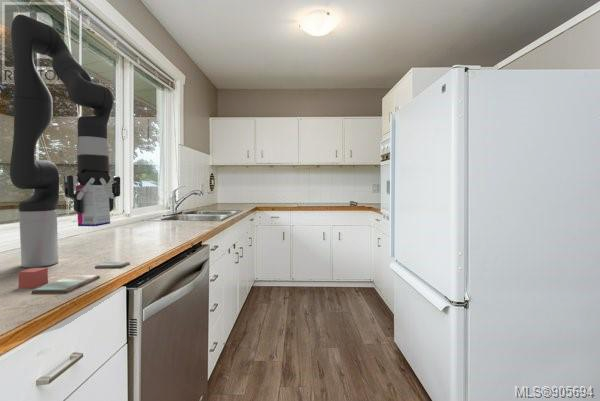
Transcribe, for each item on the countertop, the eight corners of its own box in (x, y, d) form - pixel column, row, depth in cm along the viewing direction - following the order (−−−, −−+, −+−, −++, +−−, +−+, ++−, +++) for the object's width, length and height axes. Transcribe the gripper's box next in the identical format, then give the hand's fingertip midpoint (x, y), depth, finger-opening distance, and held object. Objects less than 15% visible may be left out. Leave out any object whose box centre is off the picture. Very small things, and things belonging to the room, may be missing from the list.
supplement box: (111, 223, 94) (109, 184, 93) (95, 226, 88) (92, 185, 87) (94, 223, 95) (91, 184, 94) (77, 226, 89) (74, 185, 88)
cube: (34, 272, 78) (18, 272, 78) (35, 288, 78) (18, 288, 78) (47, 267, 82) (32, 267, 82) (48, 283, 82) (32, 283, 82)
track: (66, 293, 74) (66, 289, 74) (31, 293, 74) (31, 290, 74) (129, 263, 102) (129, 261, 102) (104, 264, 102) (104, 261, 102)
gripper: (112, 156, 98) (113, 210, 99) (57, 152, 86) (59, 213, 87) (125, 155, 94) (126, 211, 95) (70, 151, 82) (71, 215, 83)
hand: (94, 212), depth 91 cm, fingers closed on supplement box, 7 cm apart
